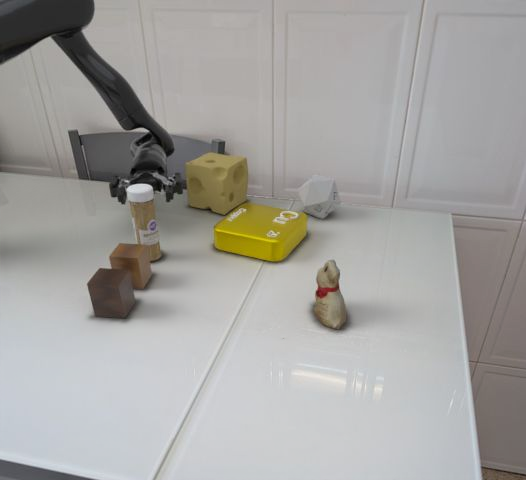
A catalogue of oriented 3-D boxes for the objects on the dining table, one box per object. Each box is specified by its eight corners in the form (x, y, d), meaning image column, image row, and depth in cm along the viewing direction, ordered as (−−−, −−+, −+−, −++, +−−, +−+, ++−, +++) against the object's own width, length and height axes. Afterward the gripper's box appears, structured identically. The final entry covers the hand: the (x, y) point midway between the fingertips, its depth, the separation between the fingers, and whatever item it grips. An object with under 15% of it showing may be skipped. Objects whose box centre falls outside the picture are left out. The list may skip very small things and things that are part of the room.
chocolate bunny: (349, 303, 82) (356, 248, 76) (343, 330, 76) (350, 273, 70) (316, 299, 83) (320, 244, 77) (307, 325, 77) (311, 268, 71)
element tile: (245, 220, 108) (244, 198, 105) (309, 232, 103) (310, 210, 100) (210, 248, 97) (209, 225, 94) (280, 264, 92) (281, 240, 89)
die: (302, 226, 107) (333, 193, 101) (283, 195, 109) (312, 160, 103) (325, 228, 113) (356, 197, 107) (306, 199, 116) (335, 166, 109)
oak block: (115, 287, 86) (108, 256, 82) (125, 273, 90) (119, 242, 86) (143, 289, 85) (137, 258, 82) (152, 275, 89) (147, 244, 85)
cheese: (225, 216, 110) (222, 170, 103) (185, 206, 114) (181, 162, 108) (249, 200, 117) (248, 157, 111) (211, 192, 121) (208, 149, 115)
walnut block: (94, 316, 79) (86, 283, 75) (106, 299, 83) (99, 267, 79) (125, 318, 78) (118, 286, 75) (135, 301, 82) (129, 269, 78)
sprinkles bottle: (154, 264, 92) (143, 193, 84) (133, 260, 94) (120, 189, 85) (166, 253, 96) (157, 184, 87) (146, 249, 97) (135, 181, 89)
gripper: (112, 153, 104) (103, 180, 92) (180, 151, 106) (180, 177, 93) (118, 188, 109) (110, 219, 96) (184, 186, 110) (184, 215, 98)
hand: (145, 198), depth 95 cm, fingers open, 8 cm apart
